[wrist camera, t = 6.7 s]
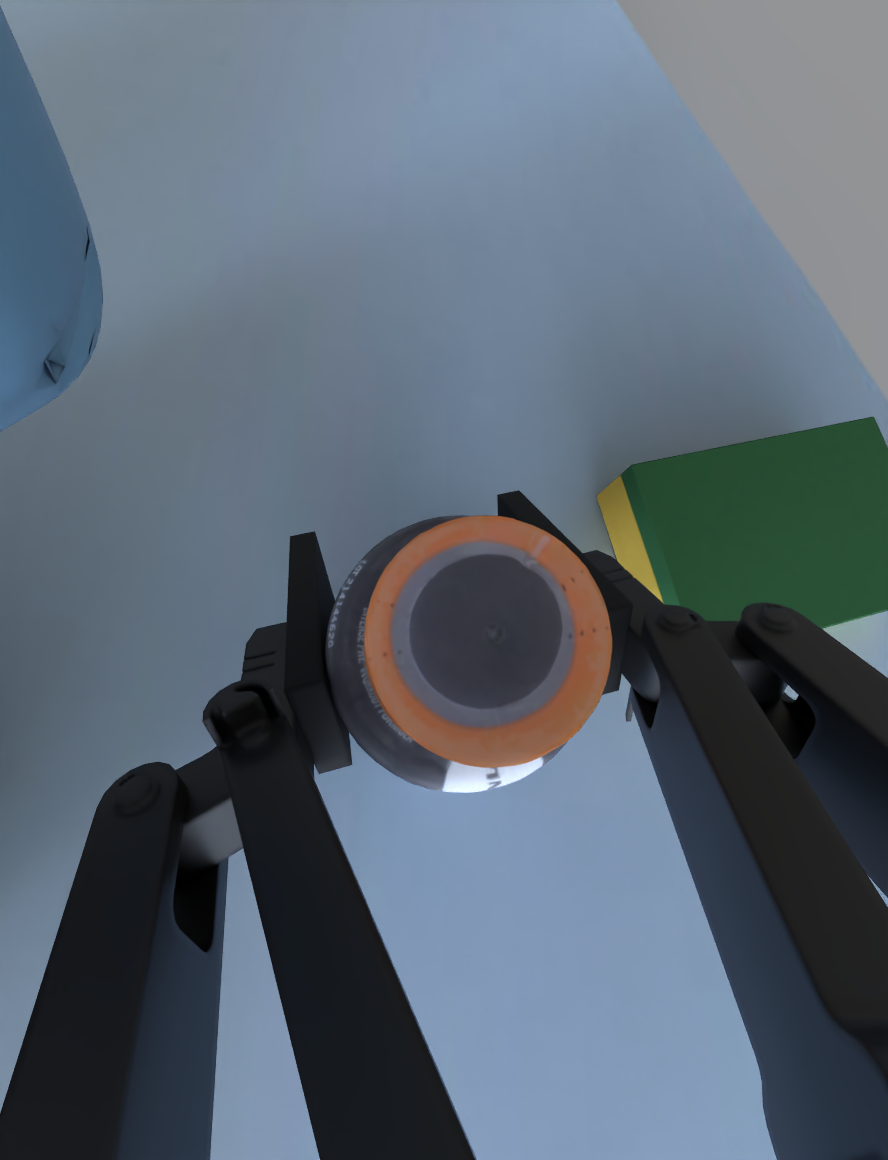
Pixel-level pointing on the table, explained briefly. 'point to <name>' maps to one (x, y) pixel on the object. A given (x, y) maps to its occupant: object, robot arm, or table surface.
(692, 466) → the sponge
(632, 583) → the robot arm
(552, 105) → the table surface
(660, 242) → the table surface
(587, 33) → the table surface
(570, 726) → the orange-lidded supplement jar
